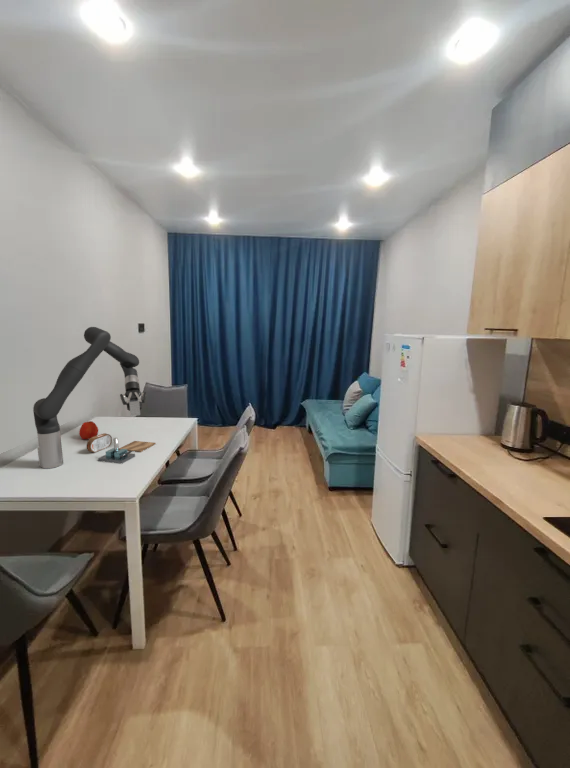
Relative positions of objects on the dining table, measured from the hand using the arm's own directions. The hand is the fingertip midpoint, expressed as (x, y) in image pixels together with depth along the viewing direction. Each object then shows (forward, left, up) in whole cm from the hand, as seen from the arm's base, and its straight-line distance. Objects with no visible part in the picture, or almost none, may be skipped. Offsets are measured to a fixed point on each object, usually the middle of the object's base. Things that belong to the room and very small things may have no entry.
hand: (134, 409), depth 192 cm
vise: (-1, -16, -23) cm, 28 cm away
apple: (-41, +9, -23) cm, 47 cm away
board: (-2, +2, -23) cm, 23 cm away
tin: (-19, -7, -23) cm, 30 cm away
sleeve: (-1, +1, -3) cm, 4 cm away
